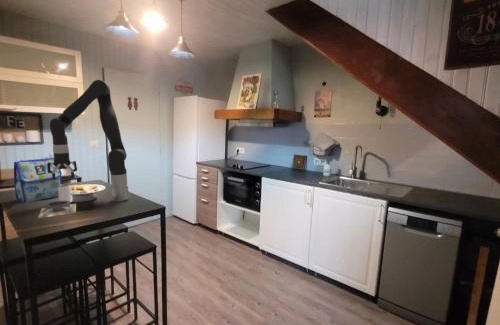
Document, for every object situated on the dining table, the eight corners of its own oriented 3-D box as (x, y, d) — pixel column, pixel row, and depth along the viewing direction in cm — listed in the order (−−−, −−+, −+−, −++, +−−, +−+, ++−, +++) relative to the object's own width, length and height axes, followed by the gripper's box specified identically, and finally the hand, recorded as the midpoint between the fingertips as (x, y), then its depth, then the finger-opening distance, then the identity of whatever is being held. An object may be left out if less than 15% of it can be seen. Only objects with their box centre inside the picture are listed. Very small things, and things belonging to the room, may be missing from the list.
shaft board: (76, 206, 153) (75, 203, 153) (76, 215, 138) (75, 212, 138) (42, 210, 144) (41, 208, 144) (38, 221, 129) (37, 218, 129)
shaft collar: (72, 204, 151) (71, 199, 151) (71, 212, 138) (71, 207, 137) (45, 207, 145) (45, 202, 144) (42, 217, 131) (42, 211, 130)
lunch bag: (24, 205, 154) (19, 162, 150) (14, 200, 162) (8, 160, 158) (66, 196, 172) (62, 158, 168) (55, 192, 181) (51, 156, 177)
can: (61, 203, 158) (59, 184, 156) (74, 202, 160) (72, 183, 159) (58, 206, 152) (56, 186, 150) (70, 205, 154) (69, 185, 153)
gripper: (75, 151, 158) (77, 176, 161) (46, 152, 151) (49, 178, 153) (75, 152, 152) (77, 178, 155) (45, 153, 144) (48, 181, 147)
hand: (63, 178), depth 154 cm, fingers open, 8 cm apart
